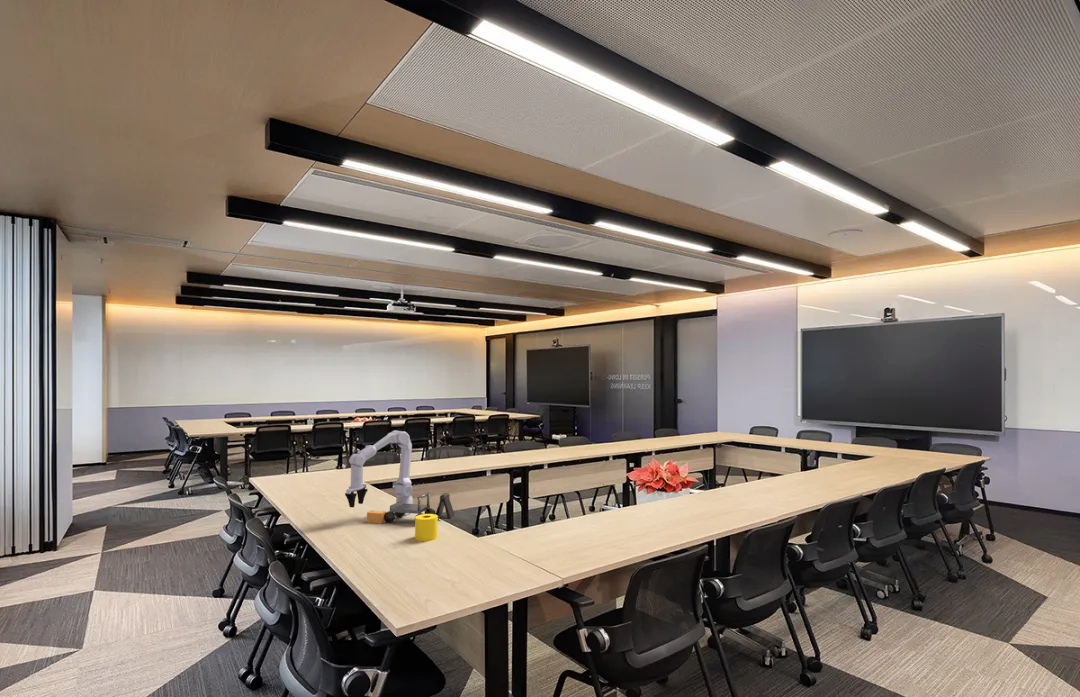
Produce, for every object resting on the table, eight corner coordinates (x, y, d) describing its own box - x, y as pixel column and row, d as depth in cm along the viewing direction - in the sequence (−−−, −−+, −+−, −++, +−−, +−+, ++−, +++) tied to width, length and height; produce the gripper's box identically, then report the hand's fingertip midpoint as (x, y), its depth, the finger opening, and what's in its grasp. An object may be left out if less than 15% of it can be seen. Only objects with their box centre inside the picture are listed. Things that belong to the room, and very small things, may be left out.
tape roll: (417, 542, 240) (417, 520, 240) (413, 536, 249) (413, 515, 249) (439, 539, 244) (440, 518, 244) (434, 533, 253) (434, 513, 253)
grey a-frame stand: (454, 516, 284) (455, 493, 284) (450, 519, 278) (450, 495, 278) (438, 515, 286) (438, 492, 286) (434, 518, 280) (434, 494, 280)
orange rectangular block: (371, 520, 277) (371, 510, 277) (385, 521, 275) (386, 511, 275) (366, 522, 272) (367, 512, 273) (381, 523, 270) (381, 513, 271)
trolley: (395, 516, 283) (396, 490, 284) (435, 519, 278) (435, 492, 278) (383, 522, 272) (384, 495, 272) (424, 525, 266) (425, 497, 267)
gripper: (358, 475, 281) (357, 501, 281) (341, 480, 267) (340, 508, 267) (370, 475, 280) (369, 502, 279) (353, 481, 266) (353, 509, 265)
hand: (356, 505), depth 273 cm, fingers open, 7 cm apart
